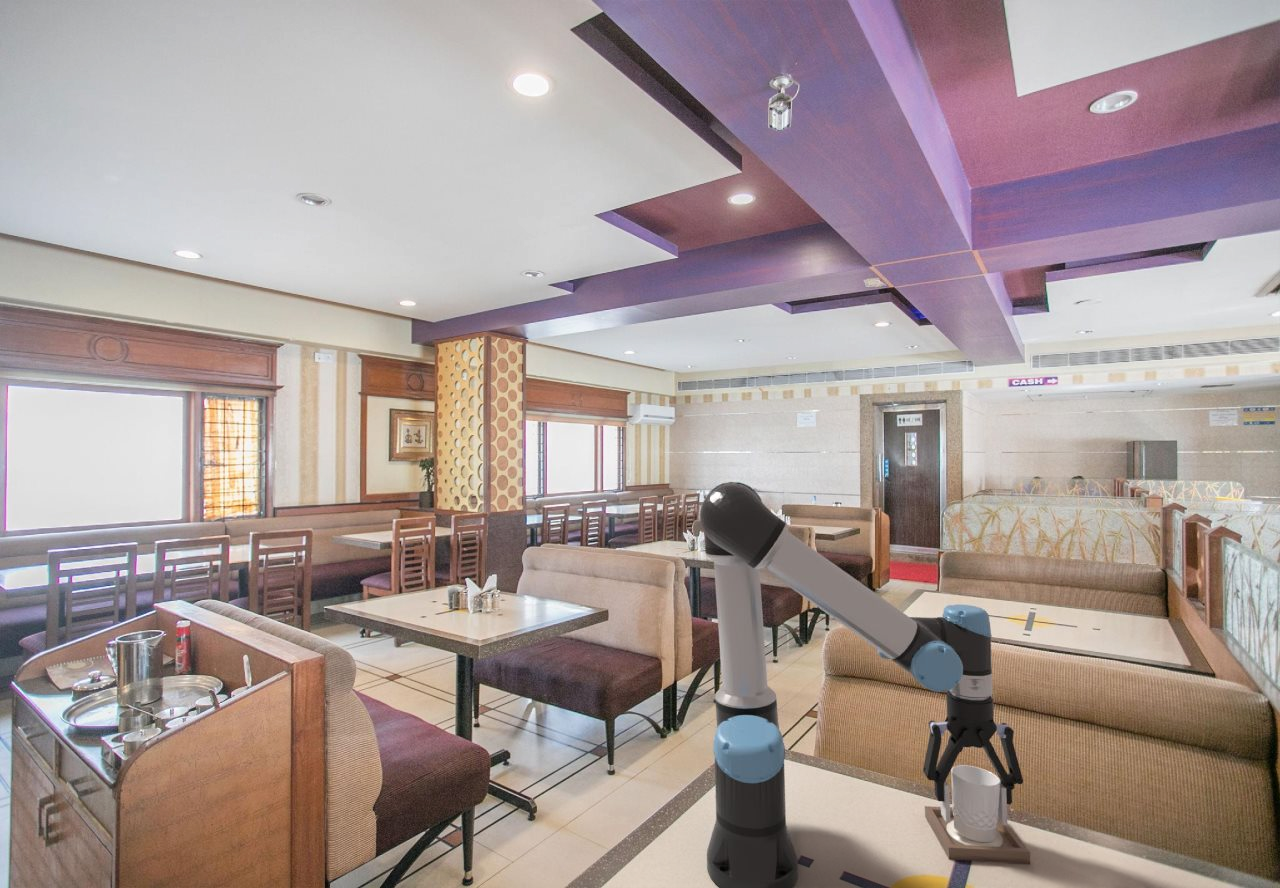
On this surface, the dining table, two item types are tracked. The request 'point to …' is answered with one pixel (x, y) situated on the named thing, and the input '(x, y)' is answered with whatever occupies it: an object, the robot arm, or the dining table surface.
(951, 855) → the tray
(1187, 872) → the dining table surface
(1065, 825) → the dining table surface
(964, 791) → the white cup
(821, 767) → the dining table surface
